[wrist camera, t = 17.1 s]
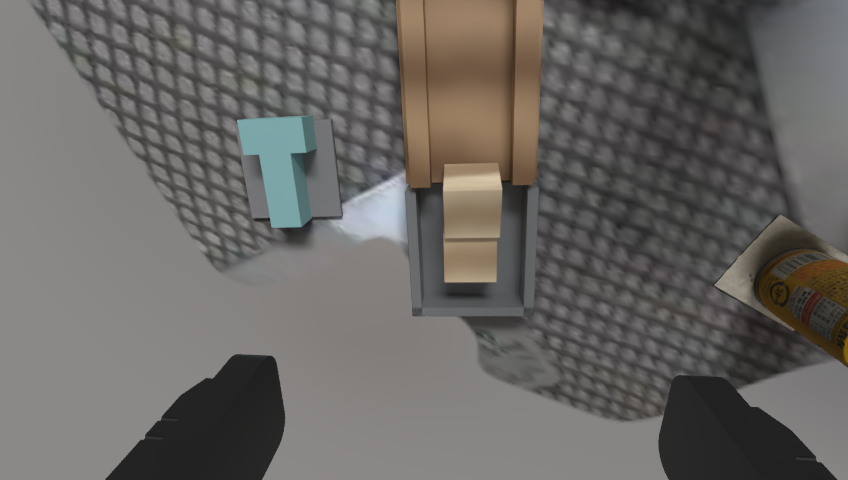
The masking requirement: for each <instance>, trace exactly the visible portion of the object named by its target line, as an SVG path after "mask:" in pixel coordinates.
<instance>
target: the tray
mask: <svg viewBox="0 0 848 480" xmlns="http://www.w3.org/2000/svg"><path fill="white" fill-rule="evenodd" d="M501 184H502V207H501V225H500V238H497V277H496V282H445V279H444V243H443V232H444V203H443V182H438V183H432V184H431V187H430V188H410V184H409V186H408V187H407V189H406V191H405V199H406V215H407V232H408V248H409V264H410V279H411V280H410V281H411V297H412V312H413V316H533V315H534V292H535V268H536V245H537V222H538V199H539V188H538V186H537V185H536V184H535V183H534V185H512V183H511V181H510V180H507V181H501Z"/></svg>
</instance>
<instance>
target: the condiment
mask: <svg viewBox="0 0 848 480" xmlns="http://www.w3.org/2000/svg"><path fill="white" fill-rule="evenodd" d="M795 244H797V246H795ZM750 274H752V277H750V276H749V275H750ZM751 278H752V279H753V281H752V282H751ZM714 286H716V287H718V288H719V289H721V290H723V291H725V292H726V293H728V294H730V295H731V296H733V297H735V298H737V299H739V300H740V301H742V302H743V303H745V304H747V305H749V306H750V307H752V308H754V309H756V310H757V311H759V312H761V313H763V314H764V315H766V316H768V317H770V318H771V319H773V320H775V321H776V322H778V323H780V324H782V325H783V326H785V327H787V328H788V329H790V330H792V331H794V330H796V331H798V332H799V333H801V334H802V335H803V336H804V337H806V338H807V339H809V340H810V341H812V342H813V343H814V344H816V345H818V346H819V347H821V348H822V349H824V350H825V351H826V352H827V353H829V354H830V355H832V356H834V357H835V358H836V359H838V360H839V361H840V362H842V363H843V364H844V365H845V366H847V367H848V256H847V255H845V254H844V253H842V252H841V251H839V250H837V249H836V248H834V247H832V246H831V245H829V244H827V243H826V242H824V241H823V240H821V239H819V238H818V237H816V236H815V235H813V234H811V233H810V232H808V231H806V230H805V229H803V228H801V227H800V226H798V225H797V224H795V223H793V222H792V221H790V220H789V219H787V218H785V217H784V216H782V215H779V216H778V217H777V218H776V219H775V220H774V221H773V223H771V224H770V225H769V226H768V227H767V228H766V229H765V230H764V231H763V232H762V233H761V234H760V235H759V237H758V238H757V239H755V240H754V241H753V242H752V243H751V245H750V246H749V247H748V248H747V249H746V250H745V251H744V252H743V253H742V254H741V255H740V256H739V257H738V259H737V260H736V261H735V263H734V264H733V265H732V266H731V267H730V268H729V269H728V270H727V271H726V272H725V273H724V275H723V276H722V277H721V278H720V279H719V281H718V282H717V283H716V284H715V285H714Z"/></svg>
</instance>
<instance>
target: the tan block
mask: <svg viewBox="0 0 848 480" xmlns="http://www.w3.org/2000/svg"><path fill="white" fill-rule="evenodd" d="M443 243H444V279H445V282H496V277H497V238H445V226H444V232H443Z"/></svg>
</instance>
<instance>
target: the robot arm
mask: <svg viewBox="0 0 848 480" xmlns="http://www.w3.org/2000/svg"><path fill="white" fill-rule="evenodd" d="M284 425H285V411H284V405H283V399H282V394H281V387H280V381H279V375H278V369H277V363H276V361H275V359H274V357H272V356H265V355H242V354H236V355H234V356H232V357H231V358H230V359H229V360H228V362H227V363H226V364H225V365H224V366H223V367H222V369H221V370H220V371H219V372H218V374H217V375H216V376H215V377H214V378H213V379H210V378H206V379H204V380H203V381H201V382H200V383H198V384H197V385H195V386H194V387H192V388H191V389H189V390H188V391H186V392H185V393H183V394H182V395H181V396H180V397H179V398H178V399H177V400H176V401H175V402H174V403H173V405H172V406H171V407H170V408H169V409H168V410H167V411H166V412H165V413H164V415H163V416H162V419H161V421H157V423H155V425H154V426H153V427H152V428H151V429H150V430H149V431H148V432H147V434H146V435H145V439H144V440H140V441H139V442H138V444H137V445H136V446H135V447H134V448H133V449H132V450H131V451H130V453H129V454H128V455H127V456H126V457H125V458H124V459H123V460H122V461H121V463H120V464H119V465H118V466H117V467H116V468H115V469H114V470H113V471H112V473H111V474H110V475H109V476H108V477H107V478H106V480H262V478H263V477H264V475H265V472H266V471H267V469H268V467H269V465H270V463H271V461H272V459H273V457H274V455H275V453H276V451H277V448H278V447H279V444H280V442H281V439H282V436H283V432H284ZM659 453H660V458H661V462H662V465H663V468H664V471H665V473H666V475H667V477H668V479H669V480H837V479H836V478H835V477H834V476H833V475H832V474H831V472H830V471H829V470H827V468H826V467H825V466H824V465H823V464H822V463H820V462H817V461H816V456H815V455H814V454H813V453H812V452H811V451H810V450H809V449H808V448H807V447H806V446H805V445H804V444H803V442H802V441H800V439H799V438H798V437H797V436H796V435H795V434H794V433H793V432H792V431H791V430H790V429H789V428H787V427H786V426H784V425H783V424H782V423H780V422H779V421H777V420H776V419H774V418H773V417H771V416H770V415H768V414H767V413H766V412H764V411H763V410H761V409H760V408H758V407H750V406H749V404H748V403H747V402H746V401H745V400H744V399H743V398H742V396H741V395H740V394H739V393H738V392H737V391H736V390H735V388H734V387H733V386H732V385H731V384H730V383H729V382H728V381H727V380H726V379H724V378H722V377H708V376H685V375H679V376H676V377H675V378H674V379H673V381H672V384H671V388H670V392H669V396H668V400H667V405H666V409H665V413H664V417H663V421H662V425H661V430H660V434H659Z"/></svg>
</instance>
